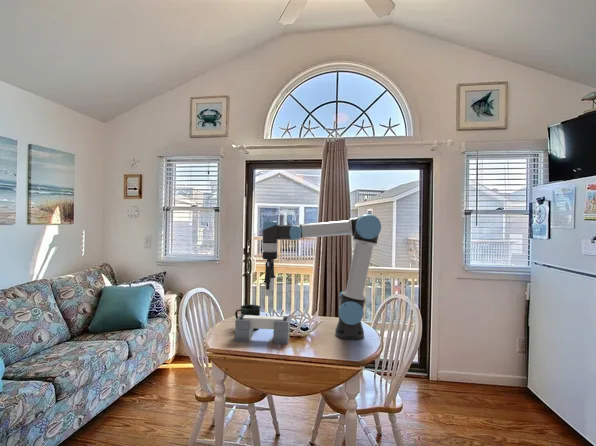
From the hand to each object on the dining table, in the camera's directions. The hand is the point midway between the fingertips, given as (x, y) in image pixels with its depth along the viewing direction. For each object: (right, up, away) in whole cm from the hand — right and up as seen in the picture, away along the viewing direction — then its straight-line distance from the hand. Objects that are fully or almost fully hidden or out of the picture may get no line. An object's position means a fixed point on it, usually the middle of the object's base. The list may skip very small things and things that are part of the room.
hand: (269, 293), depth 178 cm
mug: (-14, -23, +16) cm, 31 cm away
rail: (-3, -17, -1) cm, 17 cm away
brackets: (-3, -23, -1) cm, 23 cm away
